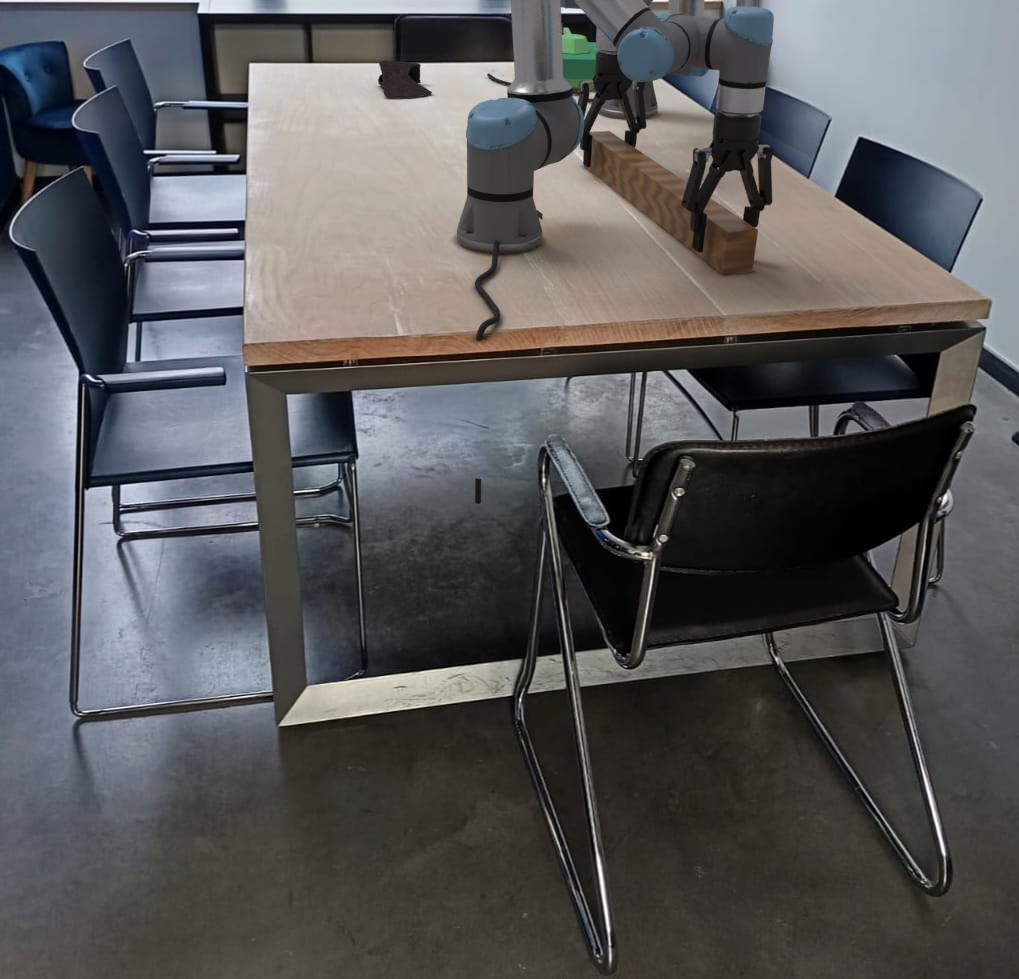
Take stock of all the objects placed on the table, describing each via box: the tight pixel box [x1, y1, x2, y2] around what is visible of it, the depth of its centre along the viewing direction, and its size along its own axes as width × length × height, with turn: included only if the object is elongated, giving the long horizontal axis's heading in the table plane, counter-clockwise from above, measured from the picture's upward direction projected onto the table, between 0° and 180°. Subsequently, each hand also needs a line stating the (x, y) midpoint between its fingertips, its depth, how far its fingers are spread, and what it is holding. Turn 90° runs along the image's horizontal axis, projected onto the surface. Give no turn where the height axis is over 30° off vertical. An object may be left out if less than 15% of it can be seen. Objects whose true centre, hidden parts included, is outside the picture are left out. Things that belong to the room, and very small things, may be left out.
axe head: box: [377, 59, 433, 99], centre depth 299 cm, size 18×8×15 cm
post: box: [583, 130, 759, 276], centre depth 210 cm, size 68×6×7 cm, turn 17°
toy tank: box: [562, 27, 599, 90], centre depth 315 cm, size 18×12×35 cm
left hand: (721, 247), depth 188 cm, fingers open, 8 cm apart
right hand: (606, 164), depth 233 cm, fingers open, 8 cm apart
